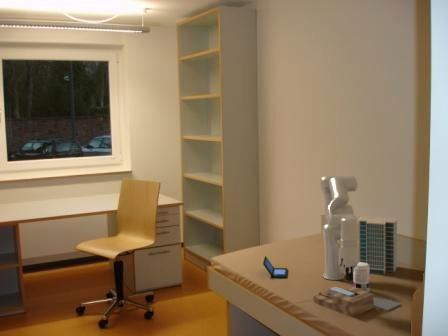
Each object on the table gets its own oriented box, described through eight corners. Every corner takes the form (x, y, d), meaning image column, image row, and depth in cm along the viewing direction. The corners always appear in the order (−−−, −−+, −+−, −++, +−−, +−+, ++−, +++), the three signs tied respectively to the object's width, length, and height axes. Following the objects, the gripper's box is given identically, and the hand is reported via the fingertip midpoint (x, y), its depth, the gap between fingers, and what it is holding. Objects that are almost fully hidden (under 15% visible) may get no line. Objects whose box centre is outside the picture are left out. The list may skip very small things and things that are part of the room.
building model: (357, 271, 285) (357, 222, 282) (362, 263, 300) (361, 216, 297) (393, 275, 277) (393, 224, 273) (396, 266, 292) (396, 218, 288)
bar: (329, 296, 242) (329, 288, 241) (335, 294, 244) (335, 286, 244) (348, 303, 232) (348, 295, 232) (354, 301, 235) (354, 293, 234)
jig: (313, 302, 243) (313, 288, 242) (334, 294, 252) (334, 281, 252) (352, 317, 224) (352, 302, 223) (373, 307, 233) (373, 293, 232)
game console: (286, 278, 279) (286, 263, 278) (263, 278, 281) (262, 263, 280) (287, 270, 294) (287, 255, 293) (265, 269, 296) (265, 255, 295)
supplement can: (350, 290, 256) (350, 263, 255) (362, 287, 260) (362, 260, 258) (360, 295, 249) (360, 267, 247) (372, 292, 252) (372, 264, 251)
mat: (369, 295, 249) (369, 293, 249) (400, 305, 235) (400, 303, 235) (356, 300, 243) (356, 299, 242) (387, 311, 228) (387, 310, 228)
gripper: (352, 238, 238) (353, 275, 240) (332, 244, 230) (333, 281, 231) (365, 241, 232) (365, 278, 234) (345, 247, 224) (345, 285, 225)
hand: (349, 280), depth 233 cm, fingers closed
